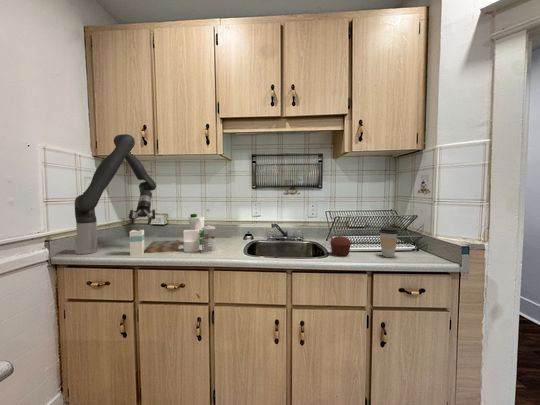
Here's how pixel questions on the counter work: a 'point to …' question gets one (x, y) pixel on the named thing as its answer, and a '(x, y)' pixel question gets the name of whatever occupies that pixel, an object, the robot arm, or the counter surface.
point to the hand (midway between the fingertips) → (140, 223)
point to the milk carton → (197, 225)
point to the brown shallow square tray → (163, 246)
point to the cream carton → (137, 242)
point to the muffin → (340, 246)
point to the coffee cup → (388, 241)
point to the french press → (208, 240)
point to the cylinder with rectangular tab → (191, 240)
